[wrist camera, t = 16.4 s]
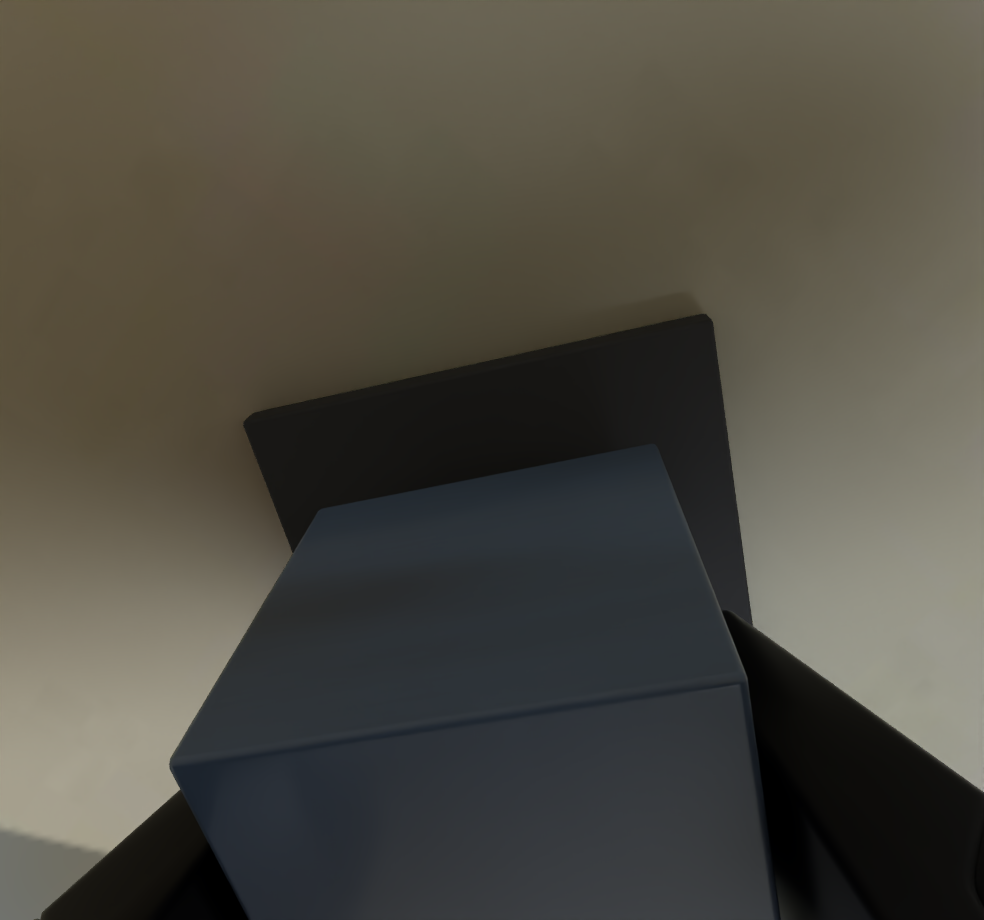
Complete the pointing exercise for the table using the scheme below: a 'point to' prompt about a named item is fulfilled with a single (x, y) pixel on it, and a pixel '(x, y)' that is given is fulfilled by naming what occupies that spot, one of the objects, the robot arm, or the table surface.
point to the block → (489, 714)
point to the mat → (522, 432)
